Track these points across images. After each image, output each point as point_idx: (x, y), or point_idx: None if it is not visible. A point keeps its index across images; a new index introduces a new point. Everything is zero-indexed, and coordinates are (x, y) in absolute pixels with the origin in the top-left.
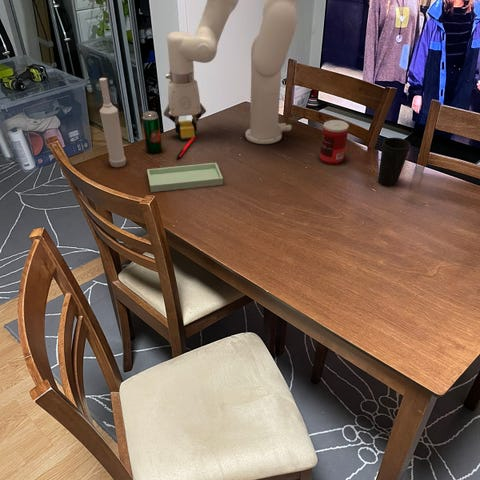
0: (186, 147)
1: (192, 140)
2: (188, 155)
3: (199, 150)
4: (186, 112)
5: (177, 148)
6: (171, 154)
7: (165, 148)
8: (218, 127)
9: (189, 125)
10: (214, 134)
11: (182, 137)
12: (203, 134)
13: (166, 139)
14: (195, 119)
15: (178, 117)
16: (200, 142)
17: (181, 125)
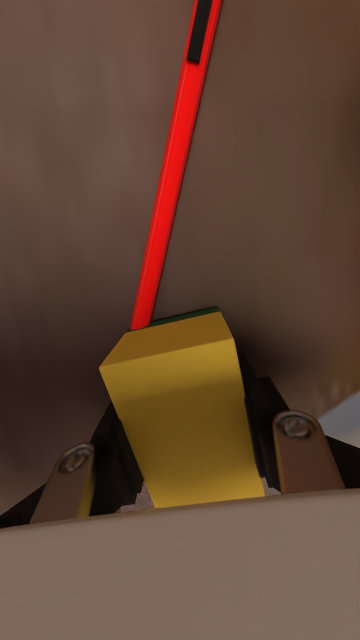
0: (168, 141)
1: (137, 292)
2: (143, 24)
3: (70, 147)
4: (115, 592)
5: (245, 180)
6: (297, 38)
7: (344, 175)
8: (28, 481)
9: (150, 414)
10: (28, 404)
11: (213, 313)
12: (91, 404)
13: (325, 337)
14: (66, 474)
15: (288, 489)
16: (88, 292)
17: (229, 418)
